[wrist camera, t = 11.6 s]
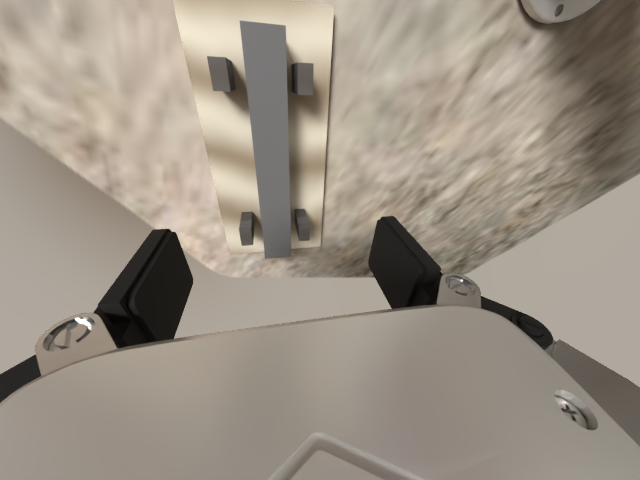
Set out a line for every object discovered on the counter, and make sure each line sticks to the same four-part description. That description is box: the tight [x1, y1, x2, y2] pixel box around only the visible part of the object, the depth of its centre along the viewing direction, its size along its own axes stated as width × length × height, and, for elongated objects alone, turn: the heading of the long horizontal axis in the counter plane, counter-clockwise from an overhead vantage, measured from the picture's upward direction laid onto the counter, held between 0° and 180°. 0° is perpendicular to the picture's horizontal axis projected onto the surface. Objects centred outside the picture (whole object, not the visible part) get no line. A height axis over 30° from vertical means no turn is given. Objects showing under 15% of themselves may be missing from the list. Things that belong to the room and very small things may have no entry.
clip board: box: [173, 0, 334, 254], centre depth 23 cm, size 24×12×5 cm, turn 178°
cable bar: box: [240, 21, 291, 259], centre depth 23 cm, size 20×3×4 cm, turn 177°
